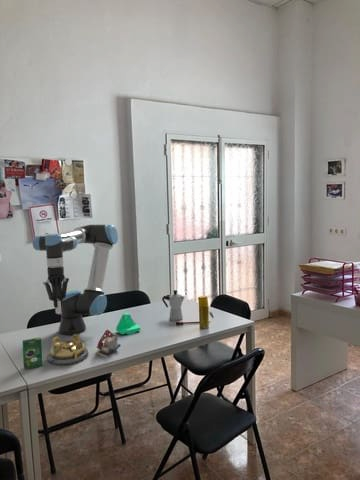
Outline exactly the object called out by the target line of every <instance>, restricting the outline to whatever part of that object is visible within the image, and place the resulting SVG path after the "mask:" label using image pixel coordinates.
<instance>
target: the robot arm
mask: <svg viewBox="0 0 360 480" xmlns="http://www.w3.org/2000/svg"><path fill="white" fill-rule="evenodd" d="M118 241H119V232H118V230H117V228H116V226H114V225H113V224H87V225H83V226H79V227H75V228H74V229H73V230H68V231H64V232H58V233H52V234H51V233H50V234H46V235H40V236H39V235H37V236H35V237H33V239H32V247H33V249H34V250H36V251H40V252H42V251H44V252H45V251H46V266H47V280H46V281H43V282H42V284H43V285H44V288H45V290H46V293H47V296H48V300H49V301H53V308H55V309H54V310H55V314H57V315H60V324H59V327H58V333H59V334H60V335H64V336H73V335H74V334H79V335H80V334H81V333H84V332H85V331H86V330H87V328H86V326H87V325H86V324H85V321H84V318H83V315H87V316H100V315H102V314H103V313H104V312H105V310H106V308H107V305H108V304H107V303H108V301H107V300H108V298H107V296H106V295H105V291H104V290H103V287H104V281H105V276H106V270H107V267H108V266H107V265H108V261H109V260H108V259H109V253H110V250H112V249H113V245H116V244H118ZM81 244H91V245H92V246H93V247H94V250H93V256H92V260H91V265H90V270H89V277H88V281H87V287H86V288H84V289H83V293H81V292H82V291H81V290H80V289H75V290H68V291H67V288H68V283H69V281H70V279H69V277H65V273H64V272H65V270H64V269H65V268H64V256H63V255H64V254H63V253H65V252H69V251H73V250H75V249H76V248H77V246H78V245H81Z"/></svg>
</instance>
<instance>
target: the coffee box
mask: <svg viewBox="0 0 360 480" xmlns="http://www.w3.org/2000/svg"><path fill="white" fill-rule="evenodd" d="M42 344H43V343H42V337H33V338H29V339H24V340H23V339H22V359H23V362H22V363H23V370H29V369H30V370H31V369H34V368H38V367H42V366H43V352H42V351H43V350H42V349H43V347H42ZM43 367H44V366H43Z"/></svg>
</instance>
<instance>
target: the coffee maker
mask: <svg viewBox="0 0 360 480" xmlns="http://www.w3.org/2000/svg"><path fill="white" fill-rule="evenodd" d="M185 298H186V296H183V295H182V294H179V293H178V290H177V289H174V290H173V294H172V293H171V294H167V295H164V296H162V299H161V301H162V302H163V304H164V305H165V307H166V308H169V306H170V311H169V320H170V321H174V322H175V321H176V322H178V321H181V320H182V321H183V311H182V304H183V301H184V299H185ZM166 301H168V302H169V305H168V304H167V302H166Z"/></svg>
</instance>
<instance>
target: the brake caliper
mask: <svg viewBox="0 0 360 480" xmlns="http://www.w3.org/2000/svg"><path fill="white" fill-rule="evenodd" d="M118 337H119V335H117V334H116V332H112V331H111V330H109V329H106V330H104V333H103V334H102V336H101V337H100V339H99V340H98V343H97V346H96V348H97V349H98V351H97V352H96V353H97V354H98V355H99V356H102V357H105V358H106V357H108V356H107V355H109V354H111V353H113V352H116V351H117V350H118V349H119V348H120V347H121V343H119V342H118Z"/></svg>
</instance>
